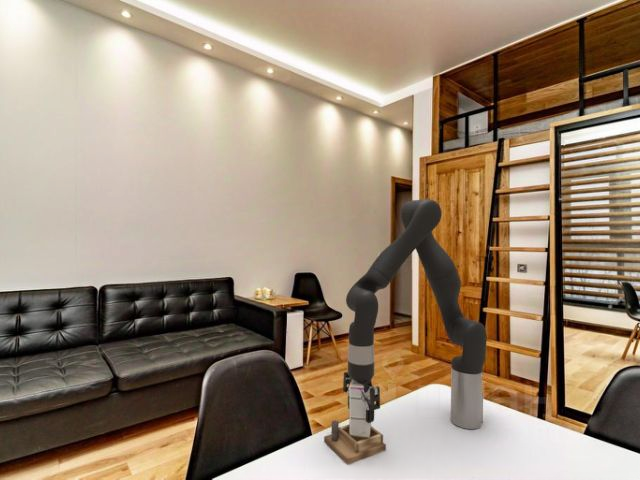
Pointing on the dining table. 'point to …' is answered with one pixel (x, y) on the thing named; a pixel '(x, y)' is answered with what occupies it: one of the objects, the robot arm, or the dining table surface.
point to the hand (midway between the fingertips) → (360, 415)
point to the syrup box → (358, 411)
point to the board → (353, 443)
